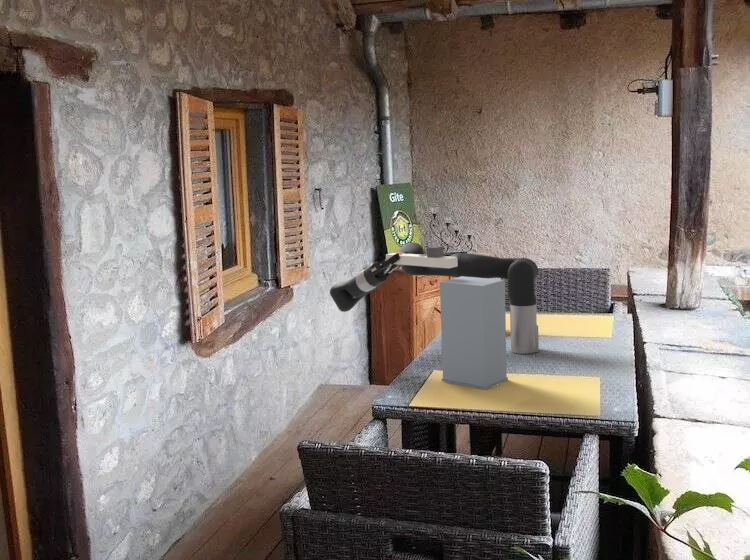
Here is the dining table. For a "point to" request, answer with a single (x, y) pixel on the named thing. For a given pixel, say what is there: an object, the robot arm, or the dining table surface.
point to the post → (473, 331)
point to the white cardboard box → (427, 258)
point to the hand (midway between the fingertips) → (403, 255)
